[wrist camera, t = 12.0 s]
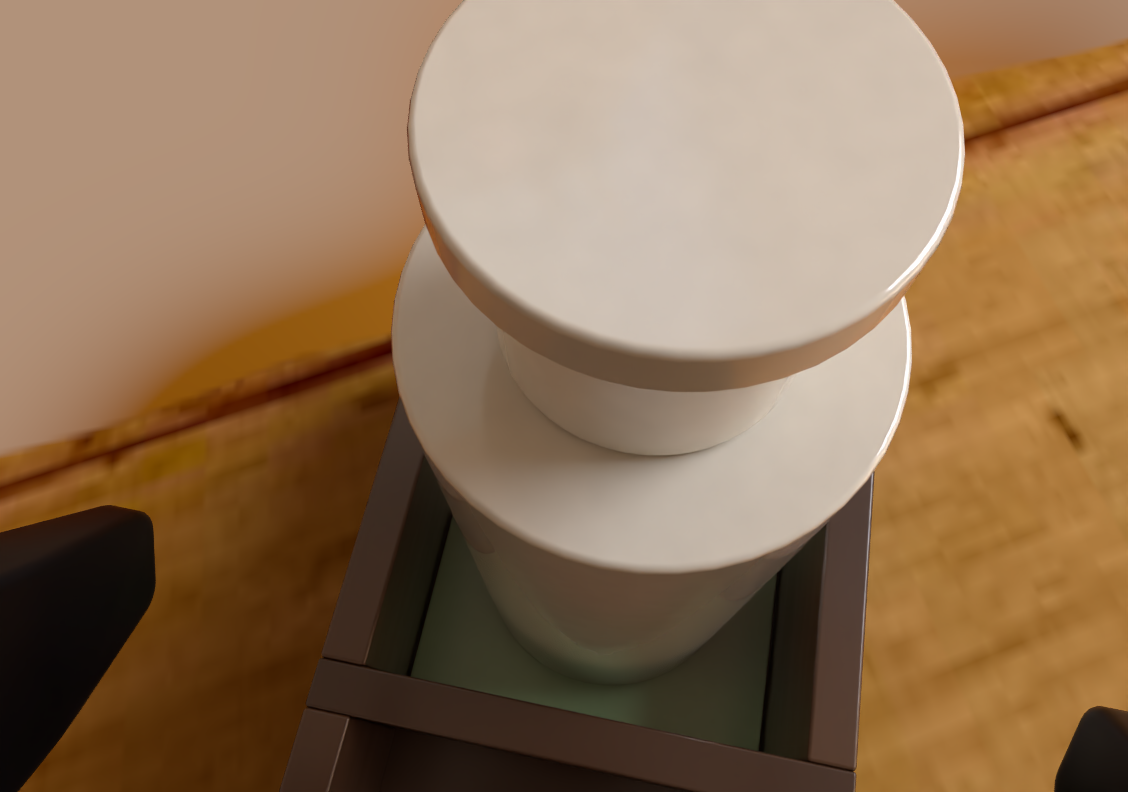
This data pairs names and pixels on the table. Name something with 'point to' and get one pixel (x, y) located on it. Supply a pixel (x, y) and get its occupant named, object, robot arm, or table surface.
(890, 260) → the white bottle
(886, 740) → the table surface
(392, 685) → the organiser
